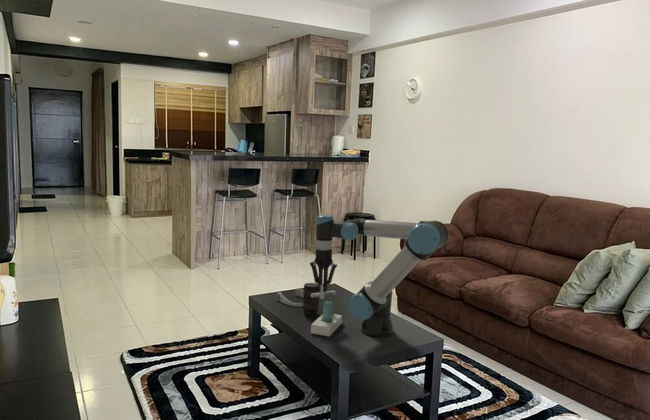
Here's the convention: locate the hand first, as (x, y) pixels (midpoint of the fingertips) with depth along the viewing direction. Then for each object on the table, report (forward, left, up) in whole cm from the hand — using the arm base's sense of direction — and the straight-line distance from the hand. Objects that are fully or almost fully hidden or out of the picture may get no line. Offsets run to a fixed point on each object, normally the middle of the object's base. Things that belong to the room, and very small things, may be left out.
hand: (322, 298), depth 232 cm
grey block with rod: (-3, 0, -14) cm, 14 cm away
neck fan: (+24, -29, -15) cm, 40 cm away
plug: (-3, 0, -12) cm, 13 cm away
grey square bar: (0, -3, 0) cm, 3 cm away
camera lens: (+11, -15, -14) cm, 23 cm away
